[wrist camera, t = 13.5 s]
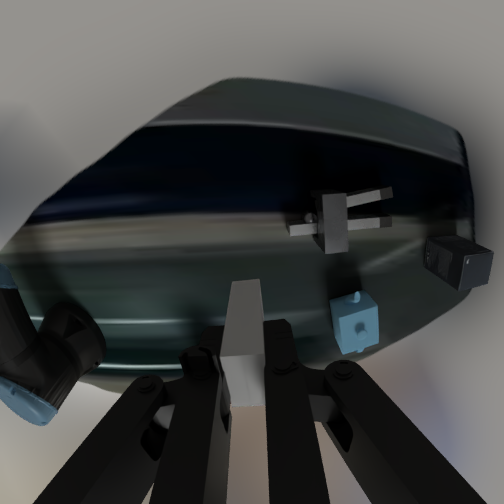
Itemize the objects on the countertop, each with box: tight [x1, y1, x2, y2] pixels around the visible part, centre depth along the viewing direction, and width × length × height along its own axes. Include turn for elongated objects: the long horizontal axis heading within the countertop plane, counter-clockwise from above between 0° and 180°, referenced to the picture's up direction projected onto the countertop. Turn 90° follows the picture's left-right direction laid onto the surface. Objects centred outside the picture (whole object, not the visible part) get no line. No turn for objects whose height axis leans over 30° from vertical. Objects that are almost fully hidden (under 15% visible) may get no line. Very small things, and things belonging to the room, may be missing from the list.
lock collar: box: [310, 189, 348, 254], centre depth 35 cm, size 3×7×7 cm, turn 6°
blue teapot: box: [329, 290, 379, 354], centre depth 39 cm, size 12×6×8 cm, turn 15°
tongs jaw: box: [315, 185, 393, 210], centre depth 36 cm, size 11×2×3 cm, turn 105°
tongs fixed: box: [287, 210, 392, 236], centre depth 37 cm, size 15×3×3 cm, turn 96°
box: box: [424, 235, 494, 291], centre depth 35 cm, size 8×6×11 cm
